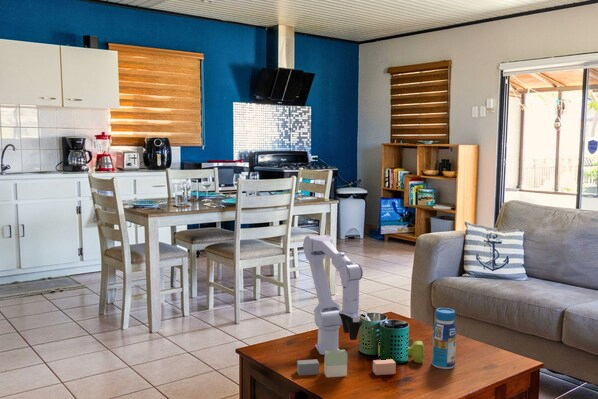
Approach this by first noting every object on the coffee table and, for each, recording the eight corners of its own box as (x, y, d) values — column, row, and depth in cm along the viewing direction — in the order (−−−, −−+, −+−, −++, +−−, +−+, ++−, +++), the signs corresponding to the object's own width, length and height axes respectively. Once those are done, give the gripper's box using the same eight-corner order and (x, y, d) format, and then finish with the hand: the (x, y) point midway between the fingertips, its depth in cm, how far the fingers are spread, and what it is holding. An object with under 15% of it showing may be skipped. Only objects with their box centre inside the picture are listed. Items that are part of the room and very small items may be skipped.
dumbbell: (377, 361, 213) (377, 342, 212) (378, 353, 220) (379, 335, 220) (423, 366, 209) (424, 346, 208) (423, 358, 217) (424, 339, 216)
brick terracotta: (372, 371, 204) (372, 360, 203) (392, 370, 205) (392, 359, 205) (375, 375, 200) (376, 364, 200) (395, 374, 202) (395, 362, 201)
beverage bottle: (428, 360, 214) (430, 306, 212) (450, 360, 214) (453, 306, 212) (435, 369, 205) (437, 314, 203) (458, 369, 206) (461, 313, 204)
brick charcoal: (296, 371, 203) (297, 360, 202) (316, 370, 204) (317, 359, 203) (298, 375, 199) (298, 364, 199) (319, 374, 200) (319, 363, 200)
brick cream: (324, 373, 201) (324, 362, 201) (344, 372, 203) (344, 360, 202) (326, 377, 198) (326, 366, 197) (346, 376, 199) (347, 364, 199)
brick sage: (324, 362, 201) (324, 350, 200) (344, 360, 202) (344, 349, 202) (326, 366, 197) (327, 354, 197) (347, 364, 199) (347, 353, 198)
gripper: (334, 293, 213) (333, 330, 214) (345, 304, 199) (344, 343, 200) (353, 292, 214) (352, 329, 216) (365, 303, 200) (364, 342, 201)
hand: (350, 336), depth 208 cm, fingers open, 7 cm apart
